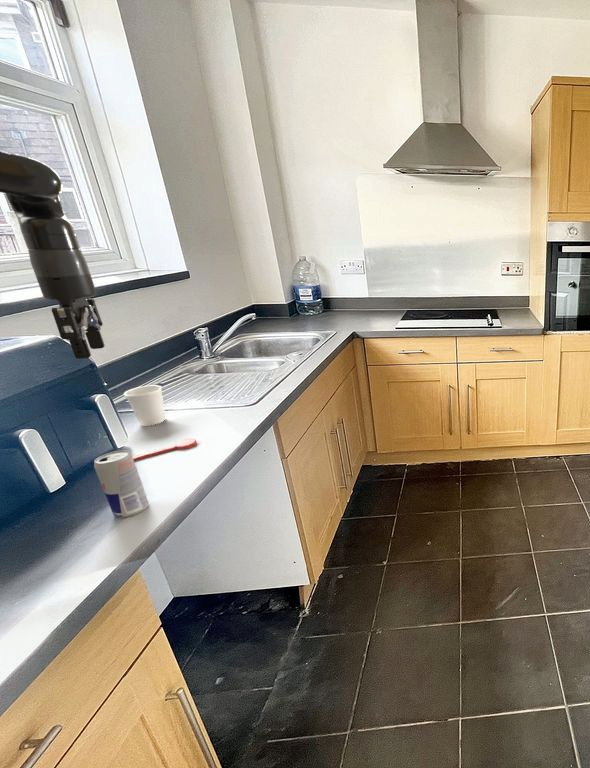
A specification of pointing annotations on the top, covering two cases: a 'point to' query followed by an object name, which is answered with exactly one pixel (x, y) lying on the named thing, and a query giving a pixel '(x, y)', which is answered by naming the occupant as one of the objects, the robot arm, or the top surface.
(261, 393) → the top surface
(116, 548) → the top surface
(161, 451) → the spoon
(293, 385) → the top surface
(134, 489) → the energy drink
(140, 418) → the dixie cup
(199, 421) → the top surface
